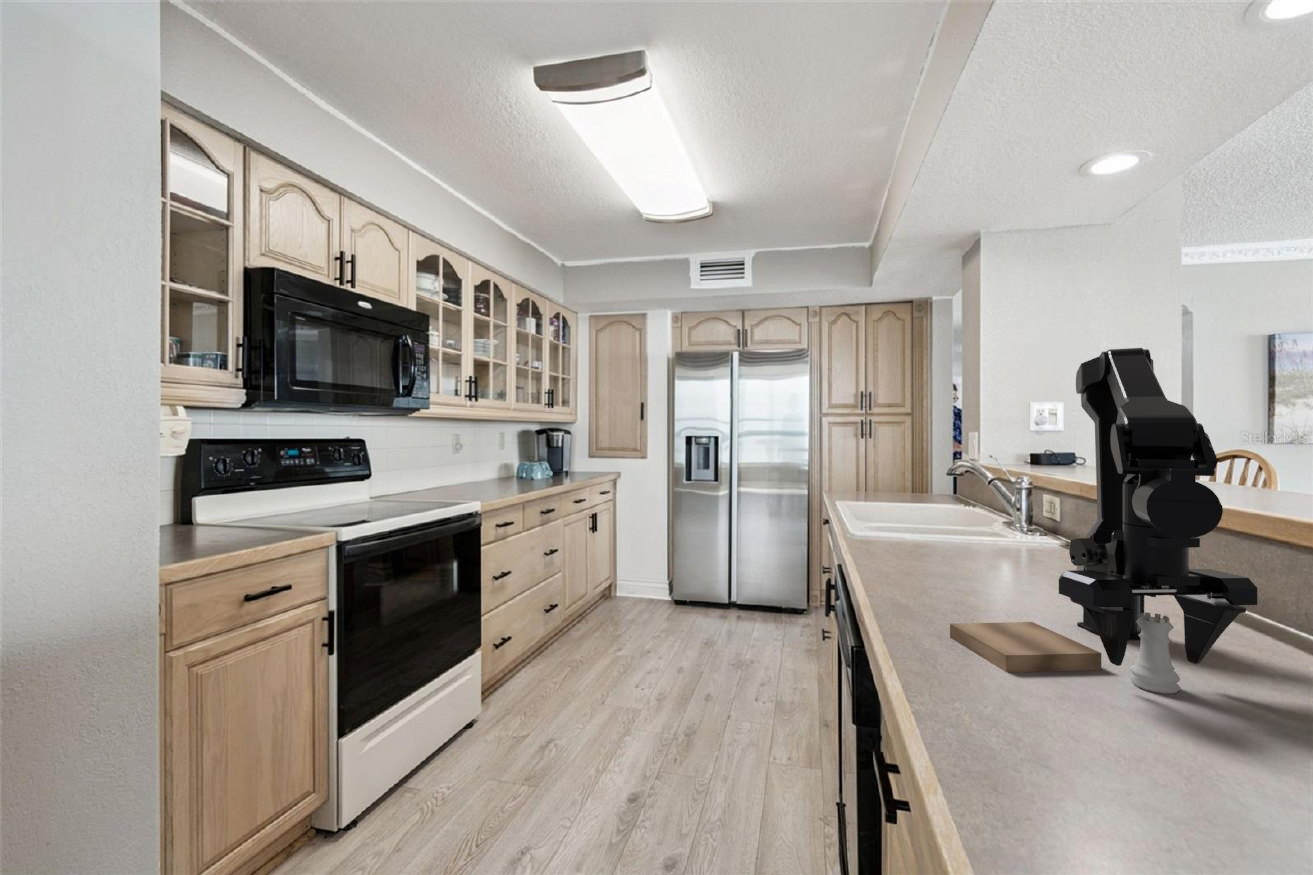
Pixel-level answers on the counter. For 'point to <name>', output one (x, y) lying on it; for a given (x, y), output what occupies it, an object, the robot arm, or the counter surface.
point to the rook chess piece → (1154, 657)
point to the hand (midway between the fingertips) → (1154, 663)
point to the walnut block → (1024, 647)
